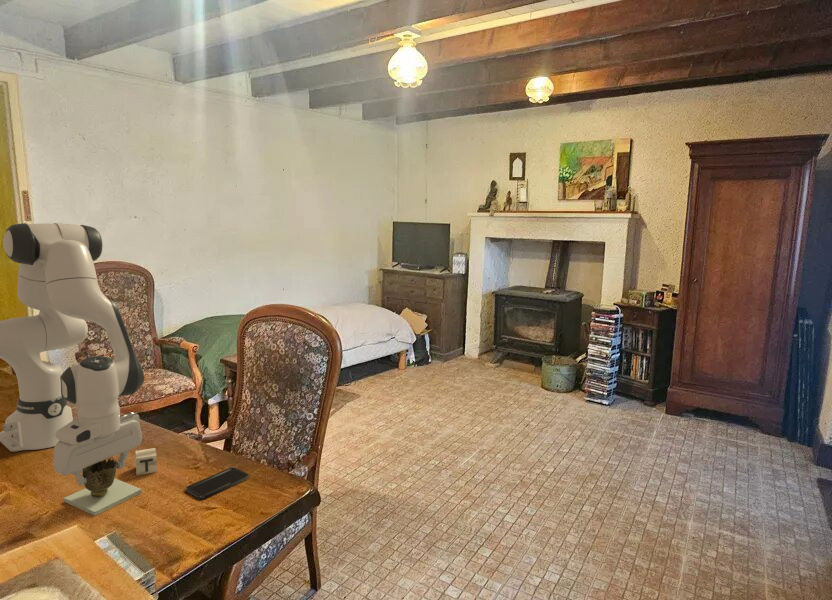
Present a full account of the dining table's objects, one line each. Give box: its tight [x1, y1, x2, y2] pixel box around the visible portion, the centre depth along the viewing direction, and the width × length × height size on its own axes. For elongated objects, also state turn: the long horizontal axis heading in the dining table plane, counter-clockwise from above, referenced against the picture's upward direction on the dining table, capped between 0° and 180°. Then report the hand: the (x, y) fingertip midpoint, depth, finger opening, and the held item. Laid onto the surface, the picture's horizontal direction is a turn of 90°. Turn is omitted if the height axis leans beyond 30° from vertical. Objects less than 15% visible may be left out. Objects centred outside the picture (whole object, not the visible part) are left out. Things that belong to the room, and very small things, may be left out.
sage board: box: [63, 477, 142, 517], centre depth 128 cm, size 12×12×1 cm
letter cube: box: [135, 447, 158, 476], centre depth 142 cm, size 5×5×5 cm
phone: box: [185, 466, 250, 501], centre depth 137 cm, size 8×1×15 cm
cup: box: [81, 458, 117, 497], centre depth 127 cm, size 8×7×8 cm
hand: (102, 475), depth 127 cm, fingers open, 8 cm apart
